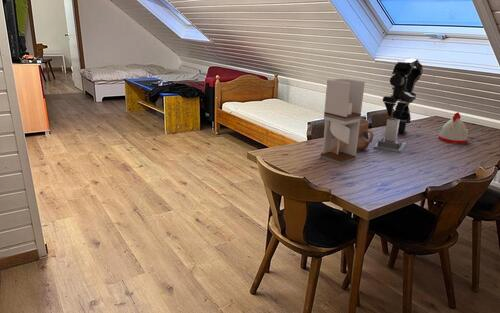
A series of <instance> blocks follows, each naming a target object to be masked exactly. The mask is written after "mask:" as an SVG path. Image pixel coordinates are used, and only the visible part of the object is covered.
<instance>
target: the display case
mask: <svg viewBox="0 0 500 313" xmlns="http://www.w3.org/2000/svg"><path fill="white" fill-rule="evenodd" d="M365 84H366V82H365V81H363V80H356V79H351V78H346V77H345V78H343V77H341V78H332V79H327V80H326V89H325V90H326V92H325V103H324V112H323V113H324V114H323V120H324V131H323V142H322V150H321V151H322V152H321V153H320V156H319V157H320V159H323V160H326V161H329V162H331V163H335V164H338V165H344V164H347V163H350V162H353V161H355V160H356V159H357V158H356V156H357V151H356V150H357V142H358V134H359V125H360V117H361V116H362V107H363V100H364V94H365V92H364V91H365Z"/></svg>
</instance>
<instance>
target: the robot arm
mask: <svg viewBox="0 0 500 313" xmlns="http://www.w3.org/2000/svg"><path fill="white" fill-rule="evenodd" d="M423 72H424V70H423V65H422V63H420V61H419V59H418V58H412V57H411V58H408V59H406V60H404V61H402V60H399V61H397V62H396V63H395V64H394V68H393V70H392V73H391V74H392V76H391V77H390V78H389V84H390V85H391V86H392V87H391V90H393V91H392V95H390V96H388V95H385V96H383V97H382V103H384V106H385V108H386V111H387V112H386V113H387V115H388V116H389V117H392V118H396V119H400V121H399V128H398V134H401V135H403V134H406V133H408V131H407V130H406V127H407V124H411V119H412V118H411V112H410V107H409V105H410V104H412V103H413V102H414V101H415V100H416V99H417V93H416V92H413V91H414V88H415V86H416V83H417V82H418V81H419V80H420V79H421V76H423ZM394 107H395V109H394Z"/></svg>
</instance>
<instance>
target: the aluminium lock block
mask: <svg viewBox="0 0 500 313" xmlns="http://www.w3.org/2000/svg"><path fill="white" fill-rule="evenodd" d="M399 121H400V119H396V118H393V117H389V118H388V119H387V121H386V126H385V133H384V134H385V135H384V141H385V142H391V143H396V141H398V134H399V133H398V128H399Z"/></svg>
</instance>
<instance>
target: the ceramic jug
mask: <svg viewBox="0 0 500 313" xmlns="http://www.w3.org/2000/svg"><path fill="white" fill-rule="evenodd" d="M369 126H370V121H369V120H368V119H366V120H365V119H361V118H360V125H359V134H358V142H357V150H356V152H357V151H364V150H366V149H367V148H368V147H369V145H370V144H371V142H372V141H373V139H374V132H373V130H371V129H368V127H369ZM367 132H368V134H369V139H368V140H367V139H366V138H364V136H363V135H364V134H365V133H367Z"/></svg>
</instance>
